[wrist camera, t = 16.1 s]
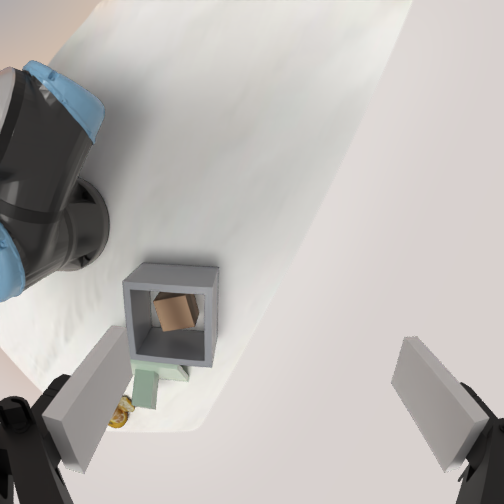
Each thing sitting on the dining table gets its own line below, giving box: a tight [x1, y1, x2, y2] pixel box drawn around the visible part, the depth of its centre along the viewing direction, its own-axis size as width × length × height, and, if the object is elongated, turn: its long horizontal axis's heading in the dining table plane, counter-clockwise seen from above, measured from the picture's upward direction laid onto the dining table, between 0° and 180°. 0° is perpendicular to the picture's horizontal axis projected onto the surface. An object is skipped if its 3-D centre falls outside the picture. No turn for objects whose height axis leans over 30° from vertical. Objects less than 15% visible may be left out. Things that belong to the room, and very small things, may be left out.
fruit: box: [108, 397, 135, 428], centre depth 54 cm, size 8×8×4 cm
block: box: [153, 292, 199, 332], centre depth 48 cm, size 5×5×5 cm
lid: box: [129, 352, 189, 410], centre depth 47 cm, size 12×12×9 cm
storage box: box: [122, 263, 219, 368], centre depth 46 cm, size 12×12×9 cm
